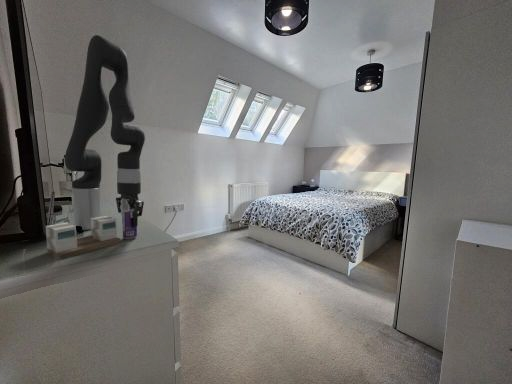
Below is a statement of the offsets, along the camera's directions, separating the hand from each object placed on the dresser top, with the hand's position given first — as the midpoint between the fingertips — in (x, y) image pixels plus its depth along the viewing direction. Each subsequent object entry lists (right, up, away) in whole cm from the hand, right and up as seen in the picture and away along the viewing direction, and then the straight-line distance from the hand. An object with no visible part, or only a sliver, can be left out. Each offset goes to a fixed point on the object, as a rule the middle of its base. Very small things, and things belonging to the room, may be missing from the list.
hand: (129, 225), depth 81 cm
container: (0, -5, +1) cm, 5 cm away
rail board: (-9, -6, -9) cm, 14 cm away
